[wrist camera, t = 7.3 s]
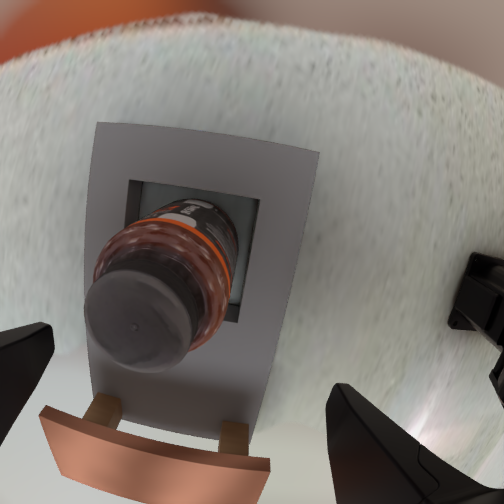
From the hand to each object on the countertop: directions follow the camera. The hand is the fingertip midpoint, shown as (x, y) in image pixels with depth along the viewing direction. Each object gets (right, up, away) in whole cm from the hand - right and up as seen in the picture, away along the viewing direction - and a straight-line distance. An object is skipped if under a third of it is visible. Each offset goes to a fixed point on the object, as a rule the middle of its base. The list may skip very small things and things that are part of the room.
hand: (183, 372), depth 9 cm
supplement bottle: (-2, +4, +12) cm, 13 cm away
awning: (-4, -8, +13) cm, 15 cm away
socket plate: (-3, 0, +13) cm, 13 cm away
